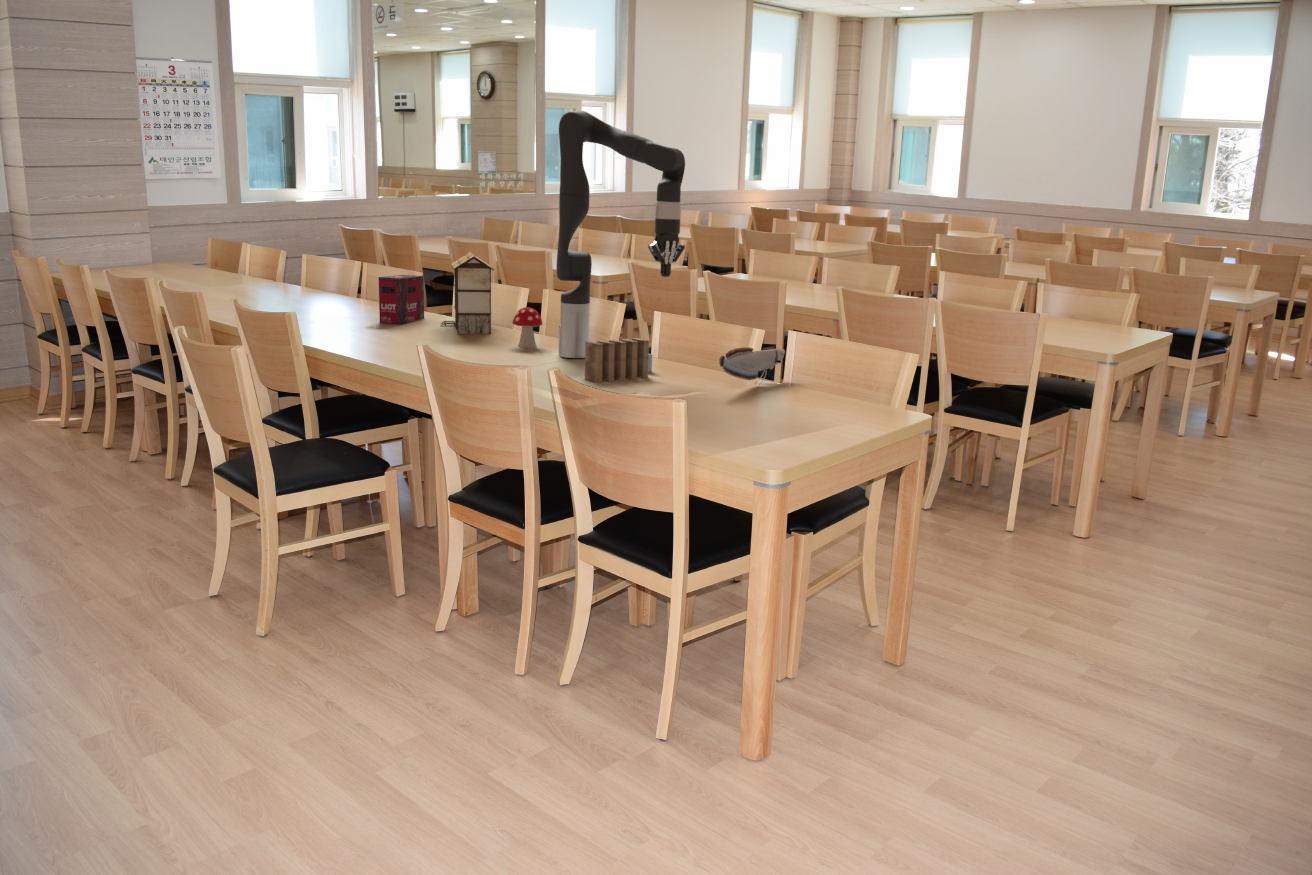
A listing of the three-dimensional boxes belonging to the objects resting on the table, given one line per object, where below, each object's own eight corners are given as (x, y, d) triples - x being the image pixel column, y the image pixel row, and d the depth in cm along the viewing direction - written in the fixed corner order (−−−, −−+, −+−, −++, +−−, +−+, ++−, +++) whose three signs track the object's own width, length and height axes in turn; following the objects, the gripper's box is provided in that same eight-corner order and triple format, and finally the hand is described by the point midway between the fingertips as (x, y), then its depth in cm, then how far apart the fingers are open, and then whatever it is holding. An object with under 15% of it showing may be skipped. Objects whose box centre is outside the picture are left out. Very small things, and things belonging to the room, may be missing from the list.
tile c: (608, 377, 296) (609, 340, 293) (612, 376, 297) (613, 339, 295) (620, 380, 291) (621, 342, 289) (625, 379, 293) (626, 342, 290)
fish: (722, 395, 275) (725, 352, 272) (704, 391, 279) (706, 349, 276) (794, 382, 299) (797, 343, 296) (776, 379, 303) (779, 340, 300)
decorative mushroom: (544, 351, 342) (544, 306, 338) (539, 354, 333) (539, 309, 330) (515, 349, 342) (515, 305, 339) (509, 353, 334) (509, 308, 331)
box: (404, 326, 390) (403, 274, 385) (424, 328, 387) (423, 276, 383) (379, 331, 375) (378, 277, 370) (400, 333, 372) (399, 278, 367)
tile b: (619, 376, 299) (620, 339, 296) (624, 375, 300) (625, 338, 297) (631, 379, 294) (632, 341, 292) (636, 378, 295) (637, 341, 293)
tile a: (630, 374, 301) (631, 338, 299) (635, 374, 302) (636, 338, 300) (643, 378, 297) (644, 341, 294) (647, 377, 298) (649, 340, 295)
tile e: (584, 379, 291) (585, 341, 288) (589, 378, 292) (590, 341, 289) (596, 382, 286) (597, 344, 284) (601, 382, 287) (602, 344, 285)
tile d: (596, 378, 293) (597, 340, 291) (601, 377, 294) (602, 340, 292) (608, 381, 289) (609, 343, 286) (613, 381, 290) (614, 343, 287)
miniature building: (494, 342, 358) (493, 256, 352) (440, 341, 354) (438, 255, 347) (488, 332, 382) (488, 252, 375) (438, 332, 378) (437, 251, 371)
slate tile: (646, 374, 304) (624, 369, 312) (651, 374, 305) (629, 368, 313) (647, 354, 302) (625, 349, 311) (652, 354, 304) (630, 349, 312)
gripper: (658, 217, 291) (656, 278, 295) (692, 218, 299) (690, 277, 303) (642, 216, 297) (640, 276, 301) (676, 217, 305) (674, 275, 309)
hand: (665, 276), depth 302 cm, fingers closed
